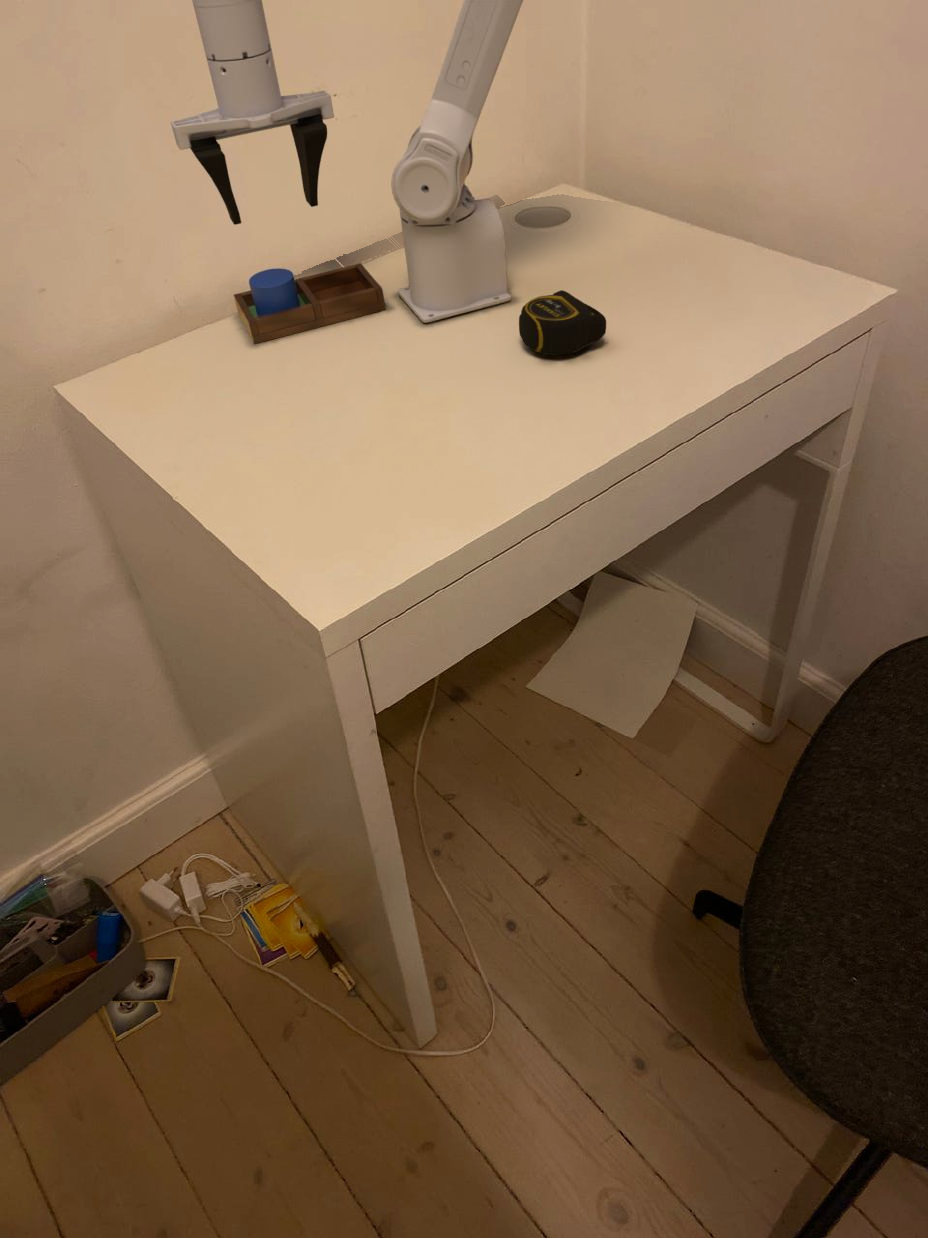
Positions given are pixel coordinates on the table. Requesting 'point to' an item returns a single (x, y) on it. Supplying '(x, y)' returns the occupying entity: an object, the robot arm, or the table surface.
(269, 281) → the cylinder
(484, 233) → the robot arm
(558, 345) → the tape measure
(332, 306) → the holder
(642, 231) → the table surface
